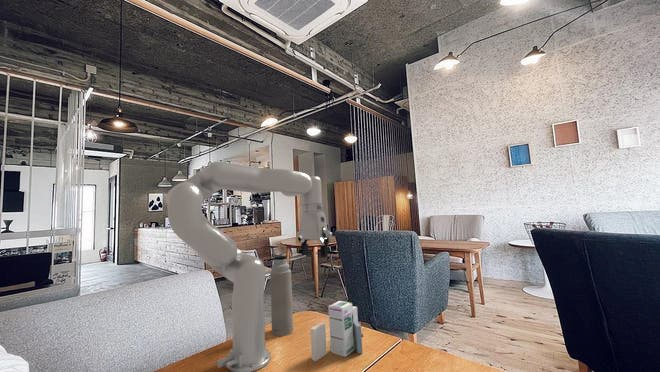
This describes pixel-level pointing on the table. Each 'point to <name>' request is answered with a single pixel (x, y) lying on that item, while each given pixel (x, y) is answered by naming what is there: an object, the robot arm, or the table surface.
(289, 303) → the thermos bottle
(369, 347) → the table surface
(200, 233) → the robot arm
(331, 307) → the syrup box
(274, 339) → the table surface
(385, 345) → the table surface
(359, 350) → the door
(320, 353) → the wall
